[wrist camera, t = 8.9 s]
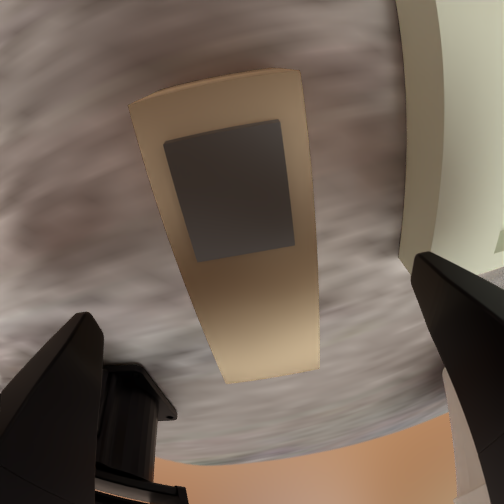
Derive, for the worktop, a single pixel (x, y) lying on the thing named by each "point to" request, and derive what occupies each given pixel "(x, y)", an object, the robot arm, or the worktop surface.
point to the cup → (464, 453)
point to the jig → (454, 131)
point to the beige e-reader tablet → (239, 214)
